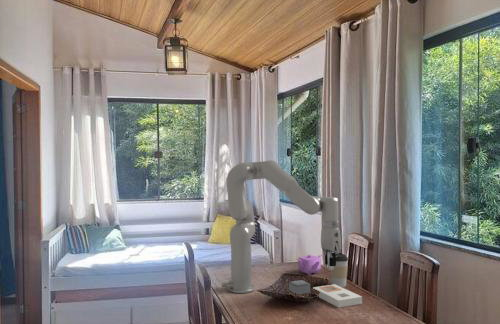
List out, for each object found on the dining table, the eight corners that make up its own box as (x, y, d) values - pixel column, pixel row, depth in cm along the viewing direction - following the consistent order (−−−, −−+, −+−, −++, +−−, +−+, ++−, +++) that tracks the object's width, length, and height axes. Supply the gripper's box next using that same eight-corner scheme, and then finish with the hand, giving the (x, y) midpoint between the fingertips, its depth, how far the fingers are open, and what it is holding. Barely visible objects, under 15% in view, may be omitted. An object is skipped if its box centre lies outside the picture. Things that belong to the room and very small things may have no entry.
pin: (329, 270, 196) (329, 252, 196) (326, 268, 199) (326, 251, 199) (335, 269, 197) (334, 251, 197) (331, 268, 200) (331, 250, 200)
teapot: (305, 278, 225) (305, 259, 225) (289, 273, 236) (289, 255, 236) (331, 273, 235) (331, 255, 235) (314, 268, 246) (314, 250, 246)
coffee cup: (348, 288, 209) (348, 256, 209) (329, 287, 211) (328, 255, 211) (348, 282, 218) (347, 252, 218) (329, 281, 220) (329, 251, 219)
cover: (296, 299, 193) (296, 285, 193) (288, 294, 199) (288, 281, 199) (310, 297, 196) (310, 283, 196) (302, 292, 202) (302, 279, 202)
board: (338, 307, 182) (338, 300, 182) (312, 294, 200) (312, 287, 200) (362, 303, 187) (362, 296, 187) (334, 290, 205) (334, 283, 205)
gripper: (347, 226, 192) (348, 268, 192) (326, 221, 207) (327, 260, 207) (333, 227, 189) (333, 270, 189) (313, 222, 204) (313, 262, 204)
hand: (330, 264), depth 198 cm, fingers closed on pin, 2 cm apart
